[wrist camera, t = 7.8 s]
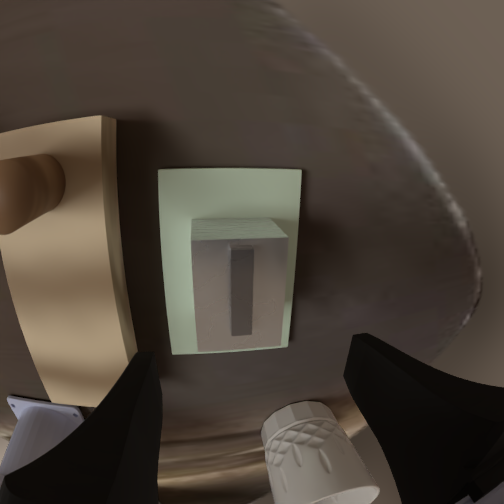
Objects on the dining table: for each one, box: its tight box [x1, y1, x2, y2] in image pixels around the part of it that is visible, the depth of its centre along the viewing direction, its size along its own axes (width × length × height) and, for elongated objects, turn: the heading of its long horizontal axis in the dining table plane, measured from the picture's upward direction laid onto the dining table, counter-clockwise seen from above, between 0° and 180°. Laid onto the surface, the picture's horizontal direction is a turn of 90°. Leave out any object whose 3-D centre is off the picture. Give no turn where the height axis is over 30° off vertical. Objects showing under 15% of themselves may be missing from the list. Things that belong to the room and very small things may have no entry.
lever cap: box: [191, 217, 289, 352], centre depth 17 cm, size 6×4×5 cm
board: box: [158, 168, 302, 355], centre depth 19 cm, size 12×8×1 cm, turn 178°
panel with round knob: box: [0, 115, 138, 407], centre depth 14 cm, size 18×7×7 cm, turn 178°
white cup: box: [261, 401, 380, 504], centre depth 21 cm, size 8×8×10 cm
